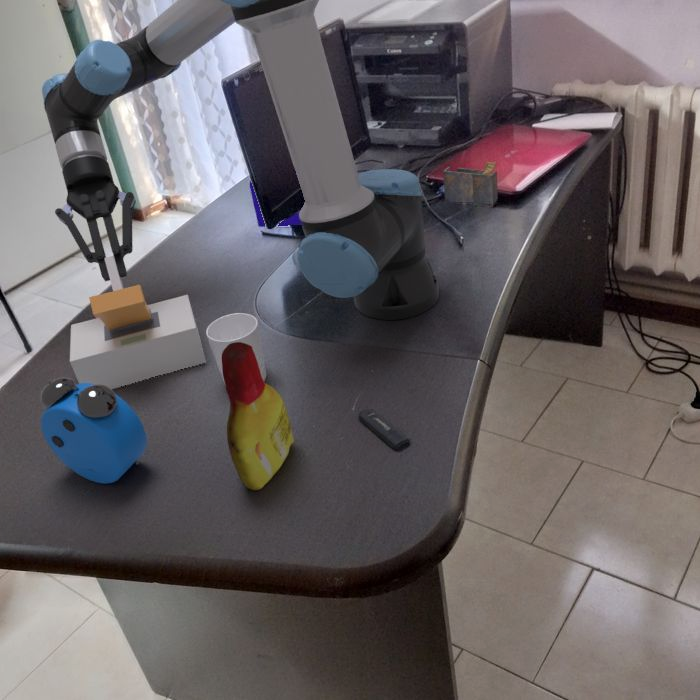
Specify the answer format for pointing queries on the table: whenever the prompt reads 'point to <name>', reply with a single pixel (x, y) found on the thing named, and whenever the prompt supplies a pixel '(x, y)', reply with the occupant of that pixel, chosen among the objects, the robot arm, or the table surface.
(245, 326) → the white cup
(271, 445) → the bottle
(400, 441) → the usb stick
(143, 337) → the white socket base
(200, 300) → the table surface
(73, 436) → the alarm clock
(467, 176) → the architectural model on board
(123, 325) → the lever
